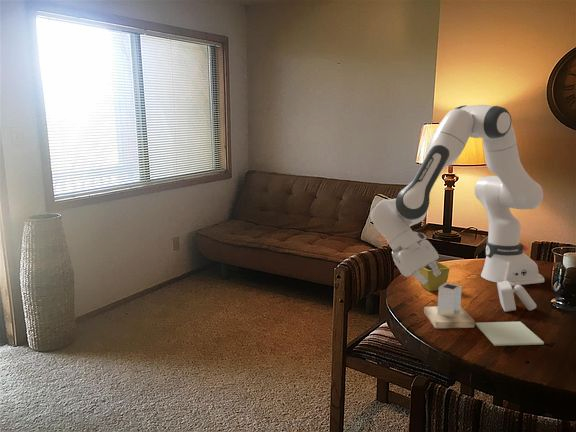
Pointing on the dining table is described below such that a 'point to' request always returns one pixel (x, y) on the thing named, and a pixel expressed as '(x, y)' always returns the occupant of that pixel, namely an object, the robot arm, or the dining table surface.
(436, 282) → the flower pot
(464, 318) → the peg stand
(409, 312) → the dining table surface
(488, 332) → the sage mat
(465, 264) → the dining table surface
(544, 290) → the dining table surface
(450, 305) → the steel sleeve
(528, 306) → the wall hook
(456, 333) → the dining table surface
